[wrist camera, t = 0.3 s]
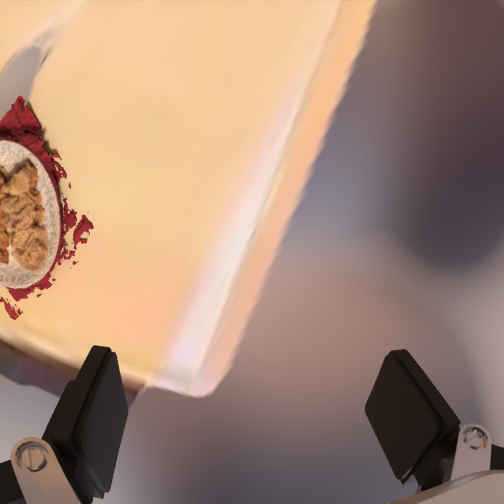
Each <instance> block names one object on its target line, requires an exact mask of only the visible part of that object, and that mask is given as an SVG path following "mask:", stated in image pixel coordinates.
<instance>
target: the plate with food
mask: <svg viewBox="0 0 504 504" xmlns="http://www.w3.org/2000/svg"><path fill="white" fill-rule="evenodd" d="M24 103H25V100H24V99H23V97H22V96H19V97H18V98H17V100H16V102H15V103H14V104H12V107H11V110H10V111H8V112H7V113H6V115H5V116H4V117H3V119H2V120H1V121H0V284H1V285H2V286H4V287H6V288H7V289H9V293H10V294H11V295H12V297H13V298H14V299H15V300H16V301H19V300H20V299H24V298H25V299H26V298H28V297H27V295H28V294H30V293H31V292H32V293H33V292H34V289H35V287H37V288H38V289H40V290H44V288H45V289H46V288H47V289H48V288H49V287H50V286H51V283H50V282H49V281H48V280H49V278H50V277H51V275H50V272H51V271H52V270H53V269H54V267H55V264H56V262H58V265H61V262H60V260H61V259H62V258H63V256H64V260H66V259H68V260H69V259H70V258H71V255H73V256H75V255H74V253H75V251H69V252H70V253H69V254H70V255H69V257H68V258H67V257H66V256H65V255H66V254H68V252H67V251H68V249H67V250H66V251H63V252H62V255H61V256H60V254H61V250H62V247H63V243H64V242H66V241H65V239H63V238H64V235H66V232H68V229H69V228H68V227H70V229H71V228H73V226H75V225H76V222H77V218H76V215H75V214H77V212H74V210H73V209H72V211H71V210H70V212H69V213H70V214H68V212H67V211H69V209H68V206H67V204H66V200H67V199H63V201H64V203H65V205H64V213H63V206H62V205H63V204H62V203H61V202H60V197H59V194H58V189H57V188H58V185H57V182H56V181H59V182H60V178H62V175H63V177H65V178H66V177H67V173H66V171H65V170H64V168H63V167H62V166H61V165H60V164H59V163H58V162H56V161H55V160H54V159H53V158H52V157H59V156H58V155H57V154H54V155H53V154H52V153H47V151H46V150H44V149H42V146H43V144H44V141H43V139H42V137H41V136H35V135H32V134H30V133H24V130H29V131H32V132H33V133H38V132H39V131H41V130H42V128H41V127H40V126H39V123H38V122H37V120H36V118H35V117H34V115H33V113H32V112H31V111H29V110H28V109H27V108H26V106H24ZM48 154H49V155H48ZM59 158H60V157H59ZM51 159H52V160H53V162H52V160H51ZM60 159H61V158H60ZM54 164H55V165H56V166H57V167H58V172H56V170H55V168H54ZM61 170H62V172H63V174H62V172H61V173H60V171H61ZM61 174H62V175H61ZM69 188H70V189H71V185H70V183H69ZM62 195H63V194H62ZM63 198H64V197H63ZM88 213H89V212H88ZM63 214H64V215H65V217H64V216H63ZM63 218H64V219H63ZM75 220H76V222H75ZM64 222H65V223H64ZM64 224H66V232H65V231H64V228H63V227H65V226H64ZM76 227H77V228H75V230H74V234H73V235H74V237H73V241H74V244H75V246H74V249H75V250H76V249H77V248H76V244H78V242H80V241H81V243H82V244H83V243H85V244H86V243H87V239H84V240H81V239H80V236H81V235H82V233H83V232H84V231H86V232H88V233H89V235H90V232H89V229H93V228H94V227H93V224H92V223H91V222H90V221H89V220H88V219H87V217H86V216H85V215H82V219H81V220H80V222H79V223H78V225H77V226H76ZM72 243H73V242H72ZM68 245H69V244H68ZM61 261H62V260H61ZM78 262H79V261H78ZM76 263H77V262H75V261H73V264H74V265H75V264H76ZM70 268H72V267H70ZM55 280H56V279H54V278H53V281H55ZM43 283H44V284H43ZM53 284H54V283H53ZM39 287H40V288H39ZM41 295H42V293H41ZM39 296H40V295H37V297H39ZM7 301H8V299H7ZM0 302H4V304H5V309H6V311H7V312H8V314H9V315H10V318H12V319H14V320H16V319H17V318H18V317H19V316H18V315H17V313H16V312H15V308H14V307H12V308H13V309H14V310H13V309H12V308H11V305H10V303H9V302H8V304H7V303H6V301H5V300H4V299H3V297H1V299H0ZM15 306H16V304H15ZM16 307H17V306H16ZM11 310H12V311H11ZM16 311H17V310H16ZM17 312H18V314H19V315H21V314H22V313H23V311H22V313H21V312H20V309H18V311H17Z"/></svg>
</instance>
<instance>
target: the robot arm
mask: <svg viewBox="0 0 504 504" xmlns="http://www.w3.org/2000/svg"><path fill="white" fill-rule="evenodd" d="M365 413H366V415H367V417H368V420H369V422H370V424H371V426H372V428H373V430H374V432H375V434H376V436H377V438H378V440H379V443H380V445H381V447H382V449H383V451H384V453H385V455H386V457H387V459H388V462H389V464H390V466H391V468H392V470H393V472H394V475H395V477H396V478H397V479H400V481H401V483H402V484H403V485H405V484H409V483H411V482H414V481H415V480H417V482H418V486H417V490H416V492H415V494H414V495H411V496H408V497H406V498H402V499H399V500H396V501H393V502H390V503H386V504H504V448H503V447H499V446H496V445H493V444H491V437H490V435H489V433H488V431H487V430H486V429H484V428H483V427H482V426H480V425H477V424H466V425H464V426H463V427H462V428H461V429H460V427H459V424H460V420H459V419H458V417H457V416H456V414H455V413H454V412H453V410H452V409H451V408H450V406H449V405H448V403H447V402H446V401H445V399H444V398H443V397H442V395H441V394H440V393H439V391H438V390H437V389H436V387H435V386H434V385H433V384H432V382H431V381H430V379H429V378H428V377H427V375H426V374H425V373H424V371H423V370H422V369H421V367H420V366H419V365H418V364H417V362H416V361H415V360H414V359H413V357H412V356H411V355H410V353H409V352H408V351H407V350H405V349H402V350H393V351H391V352H390V353H389V354H388V355H387V356H386V357H385V359H384V361H383V364H382V367H381V369H380V372H379V375H378V377H377V380H376V382H375V384H374V386H373V389H372V391H371V394H370V396H369V398H368V401H367V403H366V405H365ZM127 416H128V405H127V401H126V397H125V393H124V388H123V384H122V380H121V375H120V370H119V365H118V360H117V355H116V353H115V352H112V351H111V349H110V348H109V347H104V346H96V345H94V346H93V347H92V348H91V350H90V352H89V354H88V356H87V358H86V360H85V361H84V363H83V365H82V367H81V369H80V371H79V373H78V375H77V377H76V379H75V380H70V381H69V382H68V384H67V386H66V388H65V390H64V392H63V394H62V396H61V398H60V400H59V402H58V404H57V406H56V408H55V410H54V412H53V415H52V417H51V419H50V421H49V423H48V425H47V427H46V430H45V432H44V434H43V437H42V439H39V438H35V437H29V438H24V439H22V440H20V441H18V442H17V443H16V444H15V445H14V447H13V448H12V450H11V456H10V457H11V460H8V461H5V462H3V463H0V504H91V503H92V502H93V497H96V498H100V499H103V498H104V493H105V492H109V491H110V488H111V484H112V479H113V474H114V470H115V465H116V461H117V456H118V452H119V448H120V444H121V439H122V436H123V431H124V427H125V424H126V420H127Z"/></svg>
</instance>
